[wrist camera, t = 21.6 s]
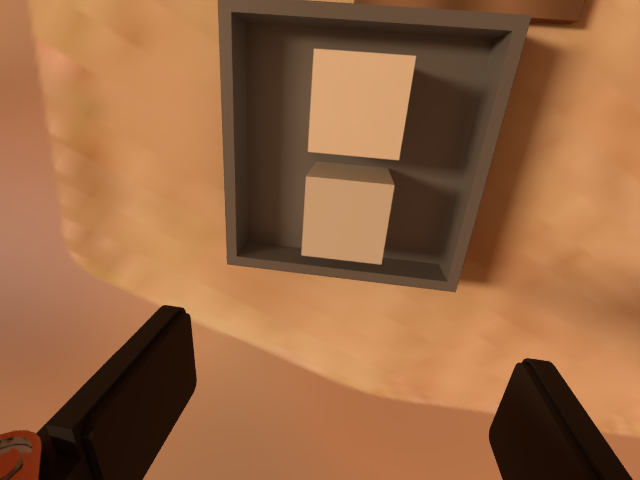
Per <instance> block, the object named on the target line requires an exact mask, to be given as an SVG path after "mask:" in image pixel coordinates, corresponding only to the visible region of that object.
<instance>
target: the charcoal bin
mask: <svg viewBox="0 0 640 480" xmlns="http://www.w3.org/2000/svg"><path fill="white" fill-rule="evenodd" d="M531 16H532V15H525V14H509V13H493V12H478V11H462V10H446V9H431V8H415V7H399V6H384V5H368V4H352V3H337V2H321V1H306V0H218V21H219V49H220V77H221V105H222V133H223V161H224V189H225V217H226V245H227V264H229V265H237V266H245V267H253V268H261V269H270V270H278V271H286V272H294V273H302V274H311V275H319V276H327V277H335V278H343V279H352V280H360V281H368V282H376V283H385V284H393V285H401V286H409V287H417V288H426V289H434V290H442V291H450V292H456V289H457V285H458V282H459V278H460V274H461V271H462V267H463V263H464V260H465V256H466V252H467V249H468V245H469V242H470V238H471V234H472V231H473V227H474V223H475V220H476V216H477V213H478V209H479V205H480V202H481V198H482V194H483V191H484V187H485V183H486V180H487V176H488V173H489V169H490V165H491V162H492V158H493V154H494V151H495V147H496V143H497V140H498V136H499V133H500V129H501V125H502V122H503V118H504V114H505V111H506V107H507V104H508V100H509V96H510V93H511V89H512V85H513V82H514V78H515V74H516V71H517V67H518V64H519V60H520V56H521V53H522V49H523V45H524V42H525V38H526V34H527V31H528V27H529V24H530V20H531ZM314 49H327V50H341V51H355V52H369V53H383V54H397V55H411V56H416V60H415V66H414V72H413V78H412V84H411V91H410V97H409V103H408V109H407V115H406V121H405V127H404V133H403V139H402V145H401V151H400V157H399V160H390V159H379V158H369V157H358V156H347V155H337V154H326V153H315V152H308V138H309V121H310V104H311V87H312V71H313V54H314ZM316 161H318V162H329V163H339V164H350V165H360V166H370V167H381V168H388V170H389V172H390V175H391V177H392V180H393V182H394V185H395V186H394V192H393V198H392V204H391V210H390V216H389V222H388V228H387V234H386V240H385V246H384V252H383V258H382V264H381V265H380V264H371V263H363V262H354V261H346V260H337V259H328V258H320V257H311V256H303V255H301V253H302V235H303V218H304V201H305V184H306V176H307V174H308V173H309V171H310V170H311V168H312V167H313V166H314V164H315V163H316Z"/></svg>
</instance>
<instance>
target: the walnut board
mask: <svg viewBox="0 0 640 480" xmlns="http://www.w3.org/2000/svg"><path fill="white" fill-rule="evenodd" d="M584 2H585V0H355V2H354V4H368V5H384V6H399V7H415V8H431V9H446V10H462V11H478V12H493V13H509V14H525V15H532V16H531V20H530V22H546V23H561V24H571V23H574V22H576V21H579V17H580V14H581V11H582V8H583V5H584Z"/></svg>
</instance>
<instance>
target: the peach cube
mask: <svg viewBox="0 0 640 480" xmlns="http://www.w3.org/2000/svg"><path fill="white" fill-rule="evenodd" d="M415 60H416V56H411V55H397V54H383V53H369V52H355V51H341V50H327V49H314V54H313V71H312V87H311V104H310V121H309V138H308V152H315V153H326V154H337V155H347V156H358V157H369V158H379V159H390V160H399V157H400V151H401V145H402V139H403V133H404V127H405V121H406V115H407V109H408V103H409V97H410V91H411V84H412V78H413V72H414V66H415Z"/></svg>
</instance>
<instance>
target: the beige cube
mask: <svg viewBox="0 0 640 480" xmlns="http://www.w3.org/2000/svg"><path fill="white" fill-rule="evenodd" d="M394 186H395V185H394V182H393V180H392V177H391V175H390V172H389V170H388V168H381V167H370V166H360V165H350V164H339V163H329V162H318V161H316V163H315V164H314V166H313V167H312V168H311V170H310V171H309V173H308V174H307V176H306V184H305V201H304V218H303V235H302V253H301V255H303V256H311V257H320V258H328V259H337V260H346V261H354V262H363V263H371V264H380V265H381V264H382V258H383V252H384V246H385V240H386V234H387V228H388V222H389V216H390V210H391V204H392V198H393V192H394Z"/></svg>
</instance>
